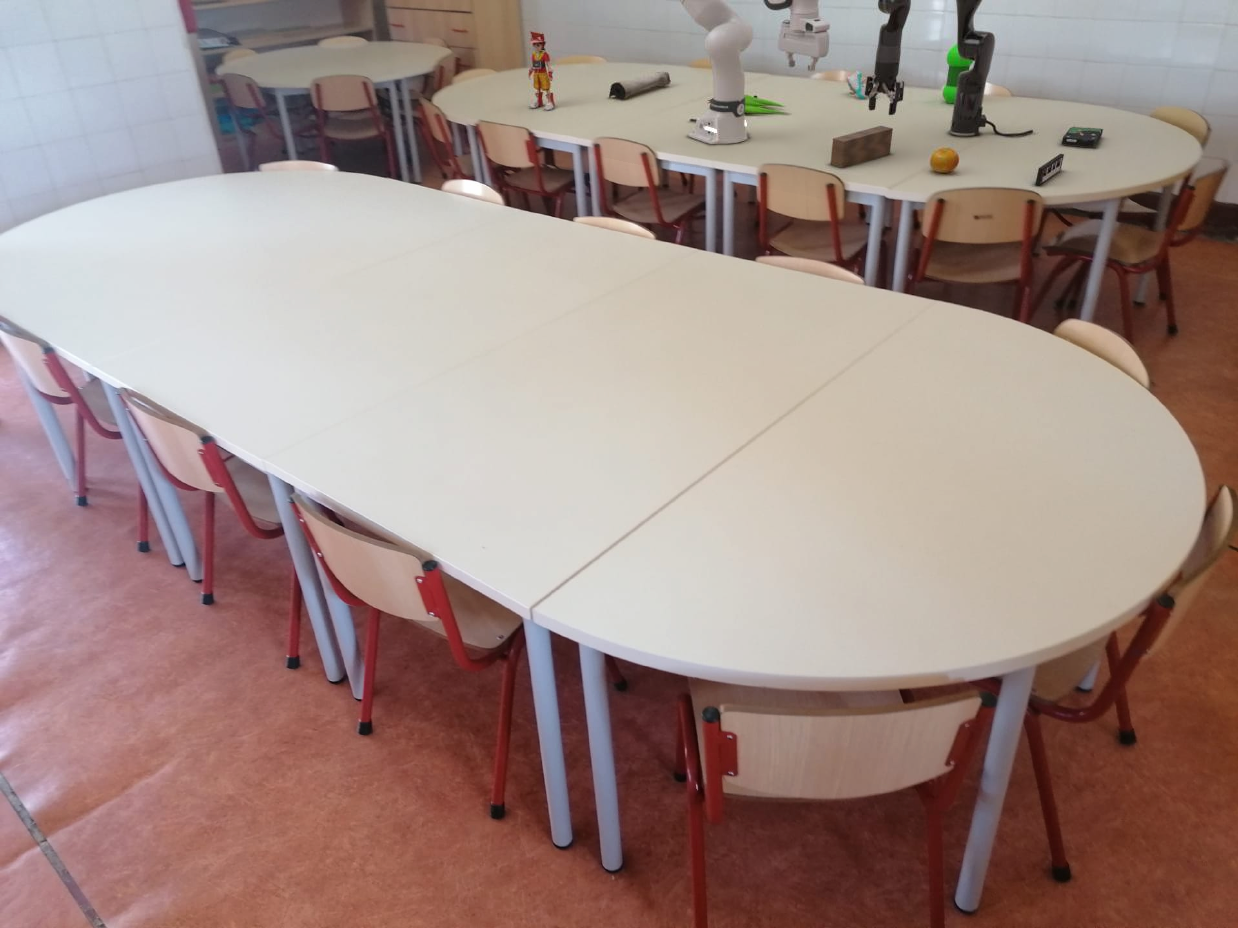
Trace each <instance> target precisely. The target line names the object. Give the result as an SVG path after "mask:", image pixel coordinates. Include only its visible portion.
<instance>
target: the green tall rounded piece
mask: <svg viewBox="0 0 1238 928" xmlns="http://www.w3.org/2000/svg"><path fill="white" fill-rule="evenodd" d="M946 63H947V64H948V69H947V70H948V71H947V76H946V77H947V78H946V84H945V85H944V87H943V90H942V97H943V99H944V100H945V101H946V102H947V103H948V104H954V103H955V96H956V90H957V83H958V77H959V74H960V73H961V72H963V71H967V70H970V67H971V65H972V64H974V61H971V60H965V59H962V58H960V56H959V54H958V49H957V43H956V44H954V45H953V46H952V47H951V48H950V49H949V50H948V52H947V54H946Z"/></svg>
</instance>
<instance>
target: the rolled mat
mask: <svg viewBox="0 0 1238 928" xmlns="http://www.w3.org/2000/svg"><path fill="white" fill-rule="evenodd" d="M671 83H672V81H671V77H670V74H669V72H668V71H658V72H654V73H649V74H645V75H640V76H637V77H633V78H628V79H623V80H620V81H616V82H613V83H612V84H611V85H610V89H609V95H608V97H609V98H611V97H616V99H620V100H622V101H623V100H626V99H627V98H629V97H630V96H632V95H635V94H636V93H638V92H640V91H643V90H644V89H647V88H650V87H655V86H658V87H659V86H661V87H665V86H669V85H670V84H671Z"/></svg>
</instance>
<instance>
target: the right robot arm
mask: <svg viewBox="0 0 1238 928" xmlns="http://www.w3.org/2000/svg"><path fill="white" fill-rule="evenodd" d="M982 2H983V0H955V4H956V17H957V18H956V20H957V29H956V32H957V34H956V39H957V41H956V44H957V49H958V54H959V56H960V58H962V59H965V60H971V61H973V66H972V68H971V69H970V68H969V70H967V71H963V72H961V73H960V74H959V77H958V83H957V90H956V96H955V103H953V110H952V115H951V119H950V121H949V124H950V129H949V134H950V135H952V136H956V137H973V136H979V131H980V128H986V124H987V125H989V126H991V127H992V129H993V130H992V131H993V132H994V134H996V135H999V136H1002V137H1020V136H1022V137H1023V136H1025V135H1028V134H1032V133H1033V132H1034V129H1029V130H1026V131H1023V132H1015V133H1013V132H1012V133H1003V132H999V131H998V130H997V126H996V125H995V123H993V122H992V121H990V120H987V116H986V114H983V109H984V107H983V102H984V96H985V90H986V83H987V79H988V76H989V73H990V71H991V65H992V60H993V56H994V51H995V46H996V36H995V34H994V33H993V32H992V31H984V30H977V29H975V25H974V23H975V22H974V21H975V14H976V13H977V10H978V9H979V7H980V5H981V4H982ZM911 5H912V0H877V8H878V10H879V11H880V12H881V13H883V14H886V15H889V17H888V19H887V22H885V23H883V24H882V25H881V26H880V28H879V34H878V42H877V48H876V53H875V61H874V62H875V63H874V70H873V74H874V75H868V76H867V77H866V80H865V81H866V82H865V87H866V88H865V95H867V96H868V97H867V98H868V110H869V111H875V110H876V106H877V105H876V104H877V96H878V95H879V94H883V95H886V97H887V98H888V99H889V102H890V103H889V107H888V108H889V109H888V115H889V116H893V115H895V114H896V112H897V105H898V103H899V102H903V100H904V92H905V91H904V90H905V81H904V80H901V81H899V80H898V81H897V78H898V75H899V70H900V63H901V53H902V39H903V31H904V27H905V26H906V23H907V19H908V16H909V14H910V10H911V7H912V6H911Z"/></svg>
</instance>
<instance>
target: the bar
mask: <svg viewBox="0 0 1238 928" xmlns="http://www.w3.org/2000/svg"><path fill="white" fill-rule="evenodd" d="M893 130H894V128H892V127H889V126H885V125H878V126H874V127H871V128H867V129H862V130H859V131H856V132H852V133H848V134H845V135H841V136H836V137H833V138H832V145H831V156H830V165H832V166H834V167H838V168H841V169H842V168H843V169H844V168H847V167H850V166H854V165H857V164H860V163H864V162H867V161H870V160H871V161H872V160H875V159H878V158H882V157H885V156H888V155H890V154H891V147H892V139H893Z"/></svg>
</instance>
